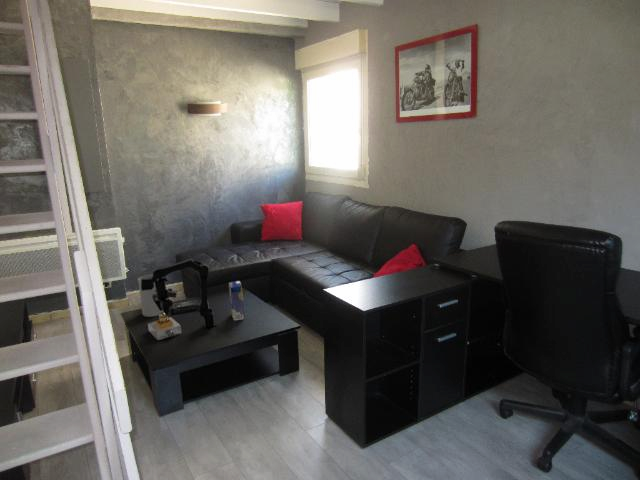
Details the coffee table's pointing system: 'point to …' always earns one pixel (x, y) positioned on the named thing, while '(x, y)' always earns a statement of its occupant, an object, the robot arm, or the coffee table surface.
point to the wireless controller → (185, 306)
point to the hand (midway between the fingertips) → (164, 313)
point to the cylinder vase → (148, 299)
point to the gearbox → (164, 329)
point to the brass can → (163, 318)
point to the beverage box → (236, 300)
